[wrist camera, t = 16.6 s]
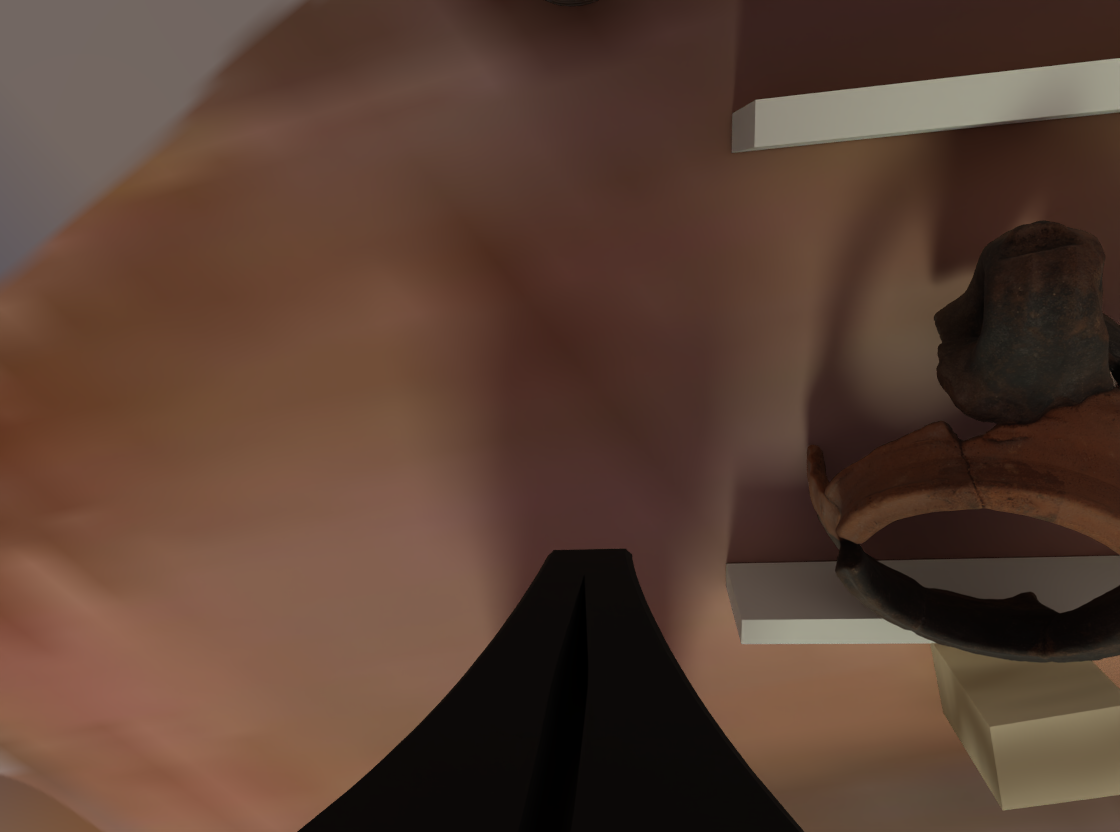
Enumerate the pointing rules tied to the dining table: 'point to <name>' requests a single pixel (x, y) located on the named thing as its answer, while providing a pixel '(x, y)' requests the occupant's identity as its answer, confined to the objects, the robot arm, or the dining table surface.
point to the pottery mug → (1001, 449)
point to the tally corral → (881, 111)
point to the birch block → (1033, 725)
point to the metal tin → (571, 2)
